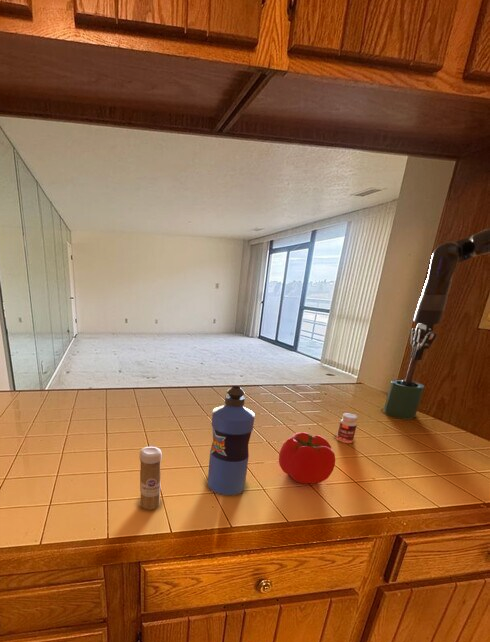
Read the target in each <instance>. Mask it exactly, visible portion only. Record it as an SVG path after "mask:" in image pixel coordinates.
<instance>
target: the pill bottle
mask: <svg viewBox="0 0 490 642" xmlns="http://www.w3.org/2000/svg"><path fill="white" fill-rule="evenodd" d="M358 418H359V417H358V415H357V414H353V413H348V412H345V413H343V414H342V419H340V421H339V425H338V429H337V434H336V440H337V441H339V442H341V443H345V444H351V443H353V442H354V439H355V434H356V431H357V427H358V422H357V421H358Z"/></svg>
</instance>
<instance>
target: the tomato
mask: <svg viewBox="0 0 490 642" xmlns="http://www.w3.org/2000/svg"><path fill="white" fill-rule="evenodd" d="M278 453H279V454H278V465H279V467H280V469H281V470H282V471H283V473H285V474H286V475H288V476H290V477H291V478H292V479H293V480H294V481H296V482H297V483H300V484H304V485H308V484H319V483H322V482H324V481H326V480H328V479H329V477H330V476H331V475H332V473H333V471H334V469H335V465H336V455H335V452H334V451H333V449H332V445H331V444H330V443H329V442H328V440H327V439H326V438H325V437H323V436H322V435H319V434H315V435H313V434H309V433H308V432H303V431H301V432H295V433H294V434H293V435H291V436H290V437H289V438H288V439H286V440H285V441H284V442H283V444H282V445H281V448H280V450H279V452H278Z"/></svg>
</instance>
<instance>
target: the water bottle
mask: <svg viewBox="0 0 490 642" xmlns="http://www.w3.org/2000/svg"><path fill="white" fill-rule="evenodd" d="M226 393H227V394H226V395H225V397H224V405H221V406H217V407H214V408H213V409H212V414H211V426H212V427H211V428H212V442H211V447H210V451H209V461H208V471H207V473H208V474H207V486H208V488H209V490H211V491H212V492H214V493H215V494H218V495H220V496H224V495H225V496H235V495H239V494H241V493H243V492H244V491H245V489H246V481H247V473H248V465H249V457H250V454H249V443H250V440H251V436H252V432H253V430H254V425H255V424H254V423H255V415H256V414H255V412H253V411H252V410H250V409H249V408H246V407H245V406H244V405H245V402H246V398H245V396H244V395H245V393H246V392H245V391H244V390H243V388H241V387H240V386H238V385H233V386H231V387H230V388H228V390H227V391H226Z"/></svg>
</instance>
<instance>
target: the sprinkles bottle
mask: <svg viewBox="0 0 490 642" xmlns="http://www.w3.org/2000/svg"><path fill="white" fill-rule="evenodd" d="M139 461H140V470H139V471H140V472H139V489H140V490H139V491H140V501H139V505H140V507H142V509H145V510H150V511H151V510H156V509H157V508H159V507H160V505H161V475H162V473H161V471H162V470H161V462H162V449H160V448H159V447H156V446H145V447H142V448H141V449H140V450H139Z"/></svg>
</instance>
